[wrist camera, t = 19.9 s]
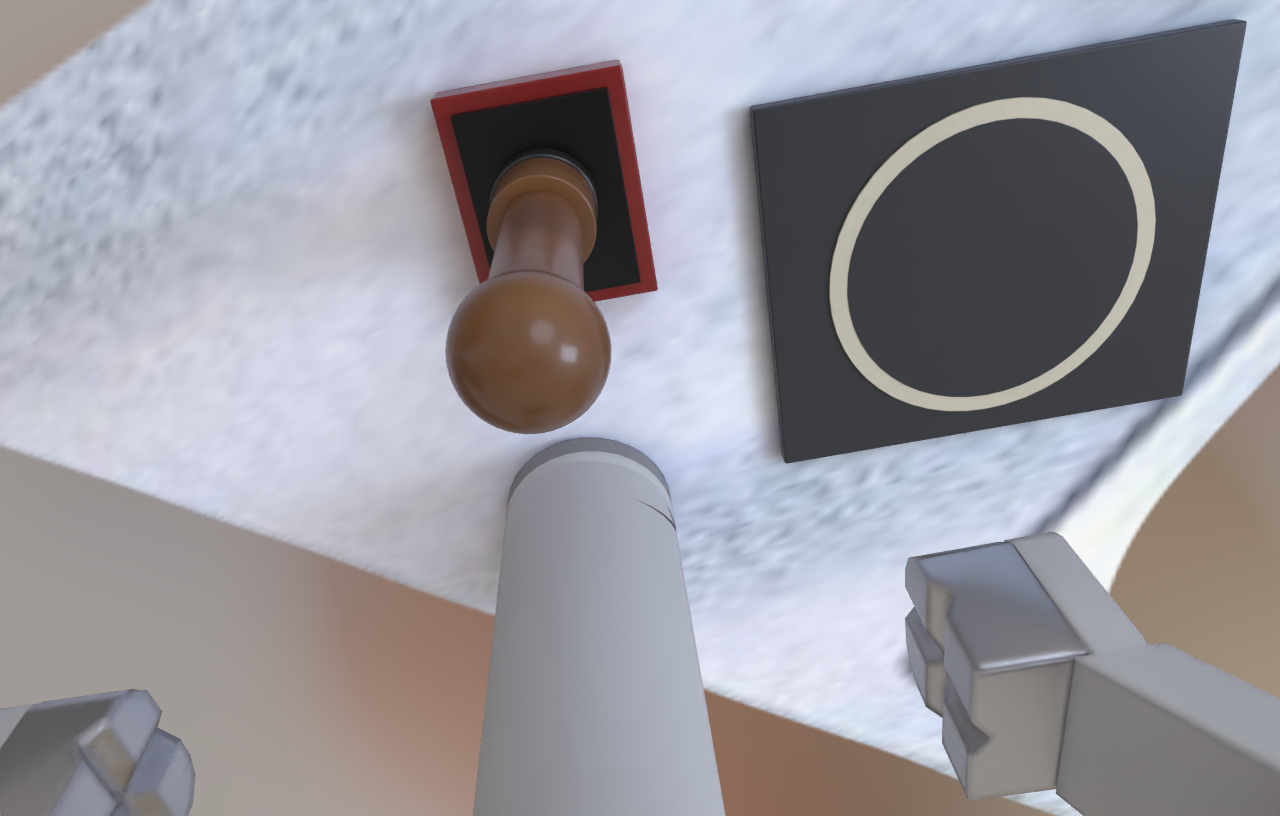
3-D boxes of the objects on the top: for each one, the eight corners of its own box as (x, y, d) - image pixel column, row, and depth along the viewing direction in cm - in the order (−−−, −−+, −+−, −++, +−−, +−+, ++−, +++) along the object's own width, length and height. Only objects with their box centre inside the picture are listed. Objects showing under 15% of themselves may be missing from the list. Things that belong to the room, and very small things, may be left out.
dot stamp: (479, 157, 25) (412, 324, 15) (587, 138, 25) (596, 292, 15) (505, 260, 27) (461, 478, 16) (606, 242, 27) (628, 449, 16)
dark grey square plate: (749, 106, 27) (753, 110, 26) (1234, 18, 26) (1251, 20, 26) (782, 456, 33) (785, 466, 32) (1172, 388, 33) (1185, 397, 32)
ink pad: (435, 92, 26) (428, 101, 24) (619, 59, 26) (622, 66, 24) (492, 306, 29) (488, 324, 28) (655, 277, 29) (658, 294, 28)
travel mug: (697, 450, 33) (841, 1053, 15) (638, 581, 35) (703, 1213, 18) (536, 407, 31) (492, 1014, 14) (489, 546, 34) (403, 1195, 17)
